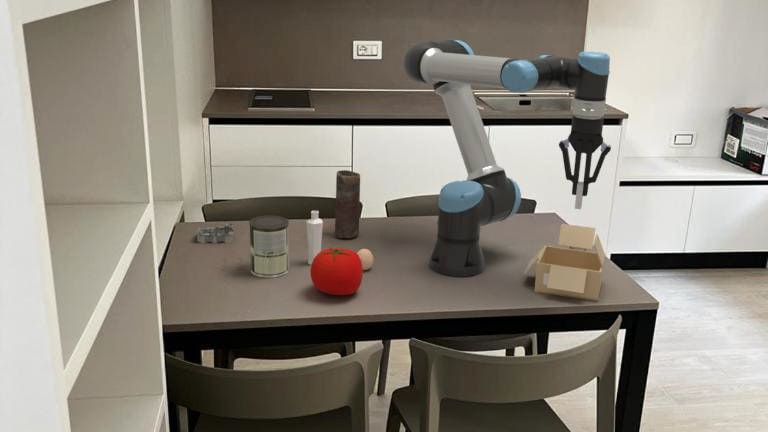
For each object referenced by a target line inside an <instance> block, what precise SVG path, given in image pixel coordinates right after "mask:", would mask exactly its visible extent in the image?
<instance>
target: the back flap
mask: <svg viewBox="0 0 768 432" xmlns="http://www.w3.org/2000/svg"><path fill="white" fill-rule="evenodd" d="M595 232H596V227H589V226H584V225H583V226H580V225H573V224H567V223H561V225H560V231H559V236H558V237H559V238H558V242H557V245H558V246H561V247H562V246H563V247H568V248H570V247H576V248H584V249H587V250H592V251H593V248H594V240H595V236H596V234H595Z"/></svg>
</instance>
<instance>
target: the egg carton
mask: <svg viewBox="0 0 768 432" xmlns="http://www.w3.org/2000/svg"><path fill="white" fill-rule="evenodd" d="M196 234H197V236H196V237H197V238H196V239H197V241H198V243H201V244H205V243H212V244H217V243H219V242H222V241H223V242H222V243H225V244H226V243H228V244H229V243H230V242H233V240H234V239H233V238H234V223H230V222H229V223H224V224H222V225H221V226H219V225H217V226H216V227H215V226H214V227H206V228H202V227H200V228H197V230H196Z"/></svg>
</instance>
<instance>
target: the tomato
mask: <svg viewBox="0 0 768 432" xmlns="http://www.w3.org/2000/svg"><path fill="white" fill-rule="evenodd" d="M357 253H358V252H355V251H354V250H351V249H348V248H342V247H341V248H340V247H328V248H325V249H322V250H321V252H320V253H318V254H317V255H316V257H315V258H314V260H313V262H312V265H310V277H311V282H312V284H313V286H314V287H315V288H316V289H317V290H319V291H320V292H322V293H324V294H329V295H334V296H347V295H351V294H353V293H355V292H357V290H359V288H360V286H361V283H362V281H363V276H364V270H363V268H362V263H361V259H360V257H359V256H358V254H357Z"/></svg>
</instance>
